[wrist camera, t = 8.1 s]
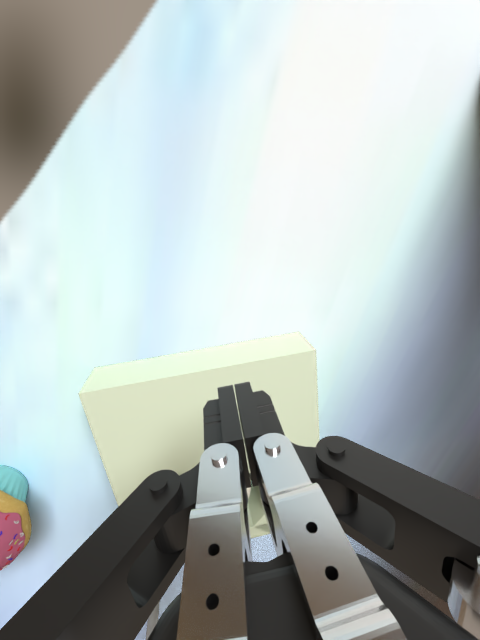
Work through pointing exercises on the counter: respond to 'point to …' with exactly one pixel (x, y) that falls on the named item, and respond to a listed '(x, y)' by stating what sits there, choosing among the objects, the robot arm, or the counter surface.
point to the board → (194, 409)
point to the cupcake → (13, 515)
